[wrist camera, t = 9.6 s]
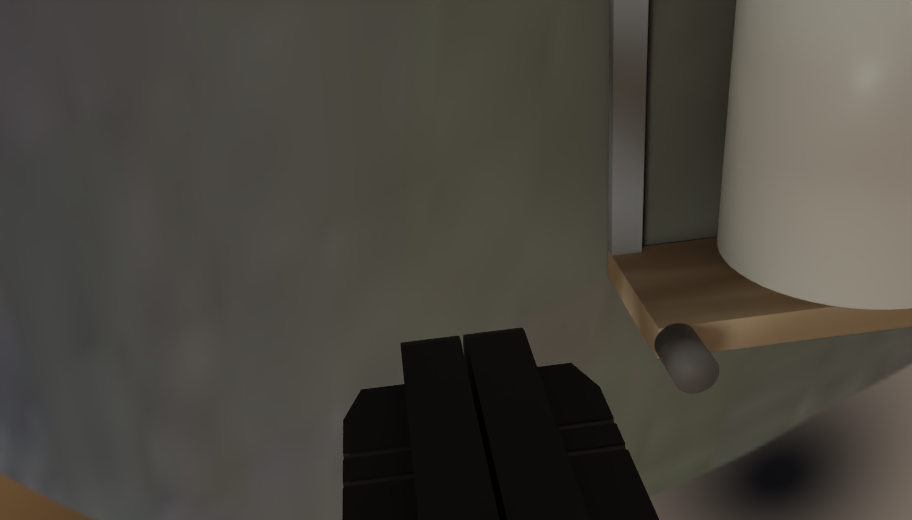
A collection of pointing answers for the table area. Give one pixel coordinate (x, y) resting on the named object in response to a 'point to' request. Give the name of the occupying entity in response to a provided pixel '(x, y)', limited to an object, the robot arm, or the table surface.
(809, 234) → the paper roll
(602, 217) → the table surface
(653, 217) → the table surface
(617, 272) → the oak cradle
